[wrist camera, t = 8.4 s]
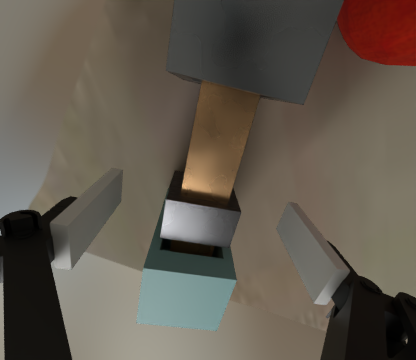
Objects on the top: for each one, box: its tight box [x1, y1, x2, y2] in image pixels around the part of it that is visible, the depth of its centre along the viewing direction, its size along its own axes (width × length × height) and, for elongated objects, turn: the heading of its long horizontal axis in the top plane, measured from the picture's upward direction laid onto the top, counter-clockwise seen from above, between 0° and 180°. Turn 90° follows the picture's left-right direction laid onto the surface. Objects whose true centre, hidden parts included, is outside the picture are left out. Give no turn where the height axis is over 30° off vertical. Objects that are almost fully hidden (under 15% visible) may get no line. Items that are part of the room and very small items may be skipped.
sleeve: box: [166, 0, 344, 105], centre depth 12 cm, size 7×6×10 cm
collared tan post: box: [160, 81, 260, 257], centre depth 14 cm, size 16×5×5 cm, turn 167°
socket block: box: [136, 188, 237, 331], centre depth 19 cm, size 6×6×11 cm
